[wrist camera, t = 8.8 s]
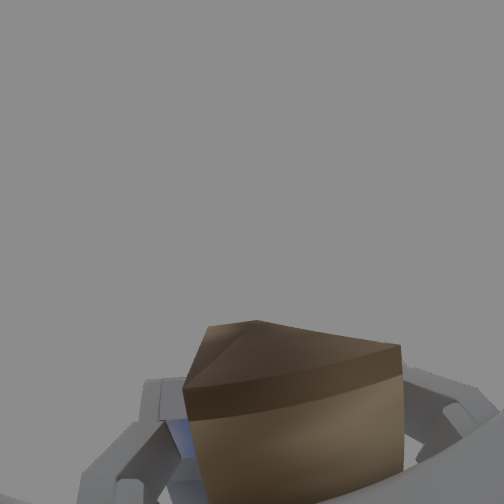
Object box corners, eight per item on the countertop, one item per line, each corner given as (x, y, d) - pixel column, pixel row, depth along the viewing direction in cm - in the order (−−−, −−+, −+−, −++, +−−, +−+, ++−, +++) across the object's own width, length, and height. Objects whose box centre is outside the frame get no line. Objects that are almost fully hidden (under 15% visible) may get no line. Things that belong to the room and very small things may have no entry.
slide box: (214, 521, 4) (181, 389, 5) (213, 362, 23) (208, 326, 24) (403, 471, 5) (400, 344, 5) (262, 355, 24) (257, 319, 25)
